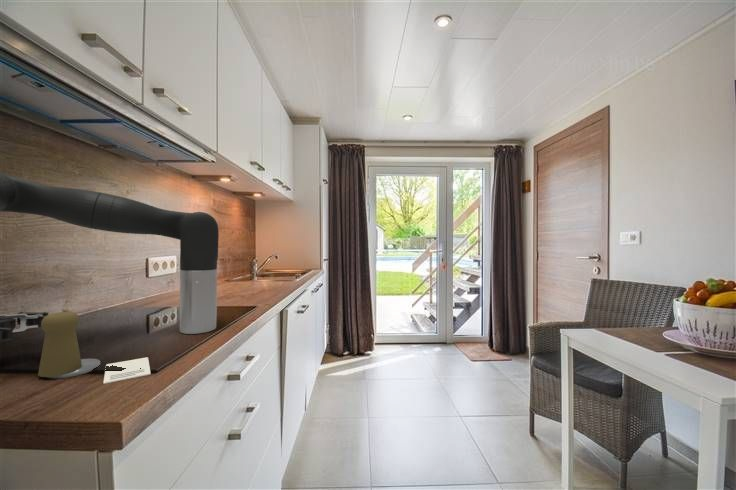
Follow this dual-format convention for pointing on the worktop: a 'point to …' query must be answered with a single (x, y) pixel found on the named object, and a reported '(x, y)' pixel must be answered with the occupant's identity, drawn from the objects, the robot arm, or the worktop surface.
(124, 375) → the letter
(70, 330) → the cork
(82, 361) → the coaster
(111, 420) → the worktop surface
